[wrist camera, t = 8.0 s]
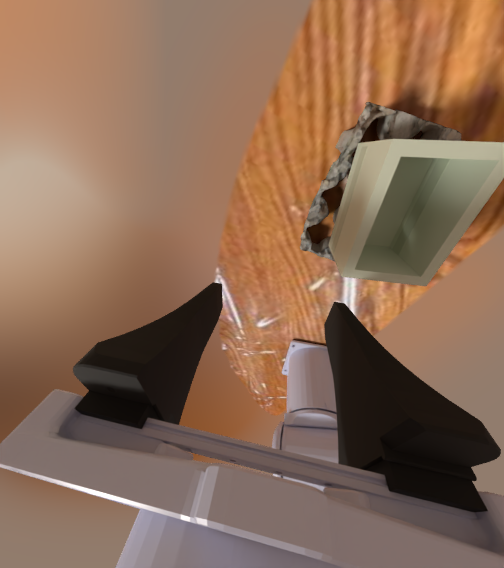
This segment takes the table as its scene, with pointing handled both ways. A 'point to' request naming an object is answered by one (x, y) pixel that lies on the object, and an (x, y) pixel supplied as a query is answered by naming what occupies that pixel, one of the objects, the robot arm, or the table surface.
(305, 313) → the table surface
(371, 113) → the egg carton
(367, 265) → the box
